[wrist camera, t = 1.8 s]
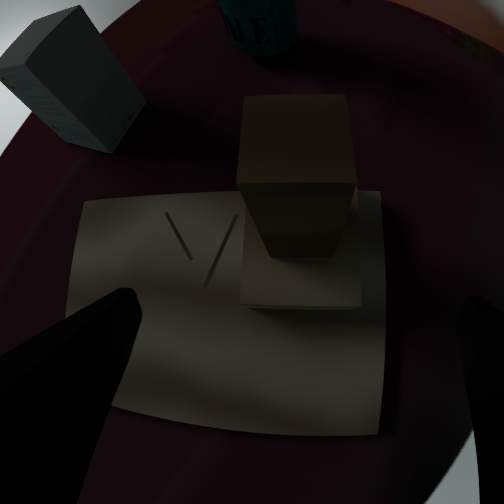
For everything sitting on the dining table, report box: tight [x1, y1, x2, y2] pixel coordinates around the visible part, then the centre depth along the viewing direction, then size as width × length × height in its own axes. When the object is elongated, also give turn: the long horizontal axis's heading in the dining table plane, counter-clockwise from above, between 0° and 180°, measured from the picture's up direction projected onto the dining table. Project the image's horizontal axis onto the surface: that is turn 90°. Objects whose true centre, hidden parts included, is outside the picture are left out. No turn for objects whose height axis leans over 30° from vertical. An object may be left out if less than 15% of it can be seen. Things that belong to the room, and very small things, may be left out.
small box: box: [0, 5, 146, 154], centre depth 21 cm, size 8×6×13 cm
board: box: [65, 191, 386, 436], centre depth 19 cm, size 15×22×2 cm
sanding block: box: [236, 94, 361, 311], centre depth 14 cm, size 8×6×11 cm
